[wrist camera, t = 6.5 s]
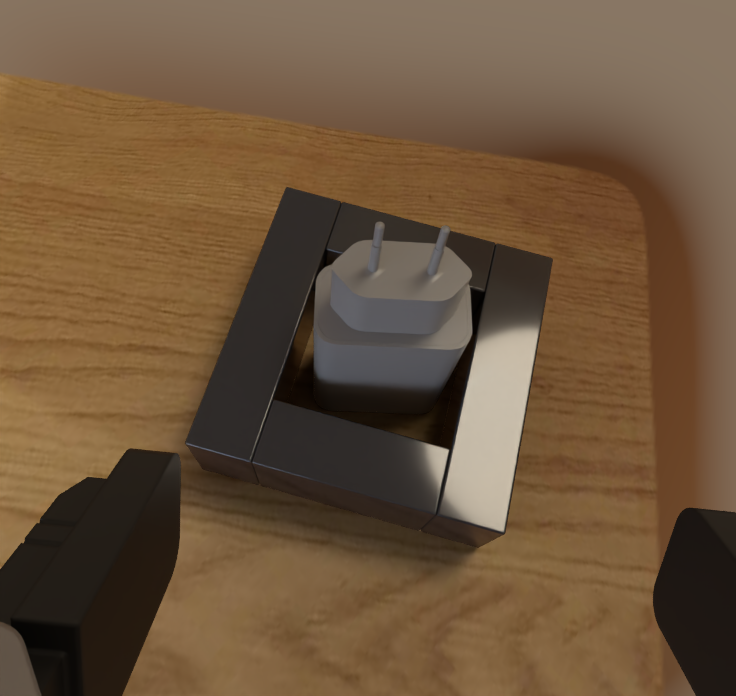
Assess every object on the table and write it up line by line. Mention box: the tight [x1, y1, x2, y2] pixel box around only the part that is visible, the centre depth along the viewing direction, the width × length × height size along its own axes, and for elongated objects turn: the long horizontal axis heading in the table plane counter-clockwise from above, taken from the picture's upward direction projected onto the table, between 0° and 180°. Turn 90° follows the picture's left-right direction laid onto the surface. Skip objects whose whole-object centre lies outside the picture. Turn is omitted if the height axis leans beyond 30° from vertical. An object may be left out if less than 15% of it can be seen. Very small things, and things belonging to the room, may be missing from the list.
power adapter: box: [314, 222, 472, 414], centre depth 24 cm, size 3×5×12 cm, turn 89°
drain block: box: [185, 187, 553, 548], centre depth 27 cm, size 12×12×4 cm
